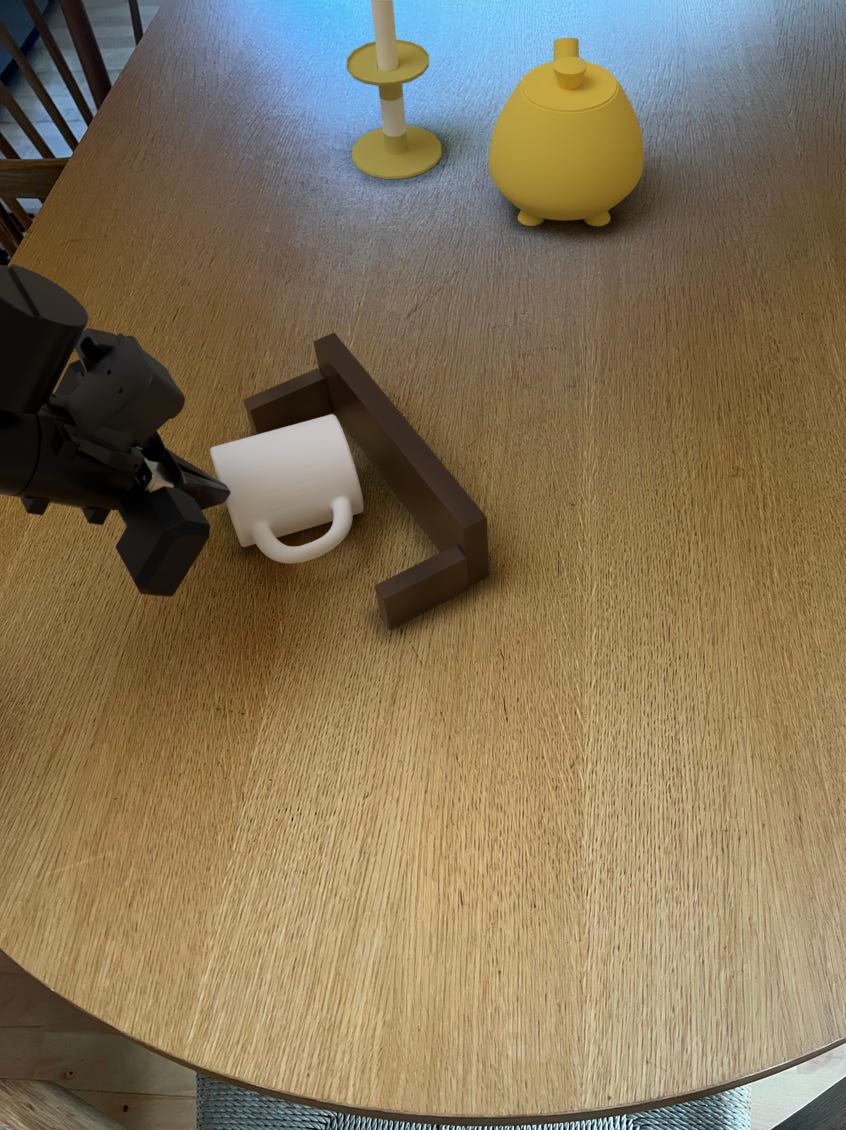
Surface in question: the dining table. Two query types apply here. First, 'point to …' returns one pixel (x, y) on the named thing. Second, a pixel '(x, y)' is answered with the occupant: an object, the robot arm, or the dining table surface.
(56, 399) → the robot arm
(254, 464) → the mug
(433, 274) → the dining table surface
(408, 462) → the shelf
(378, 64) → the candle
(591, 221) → the teapot
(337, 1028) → the dining table surface
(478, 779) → the dining table surface
